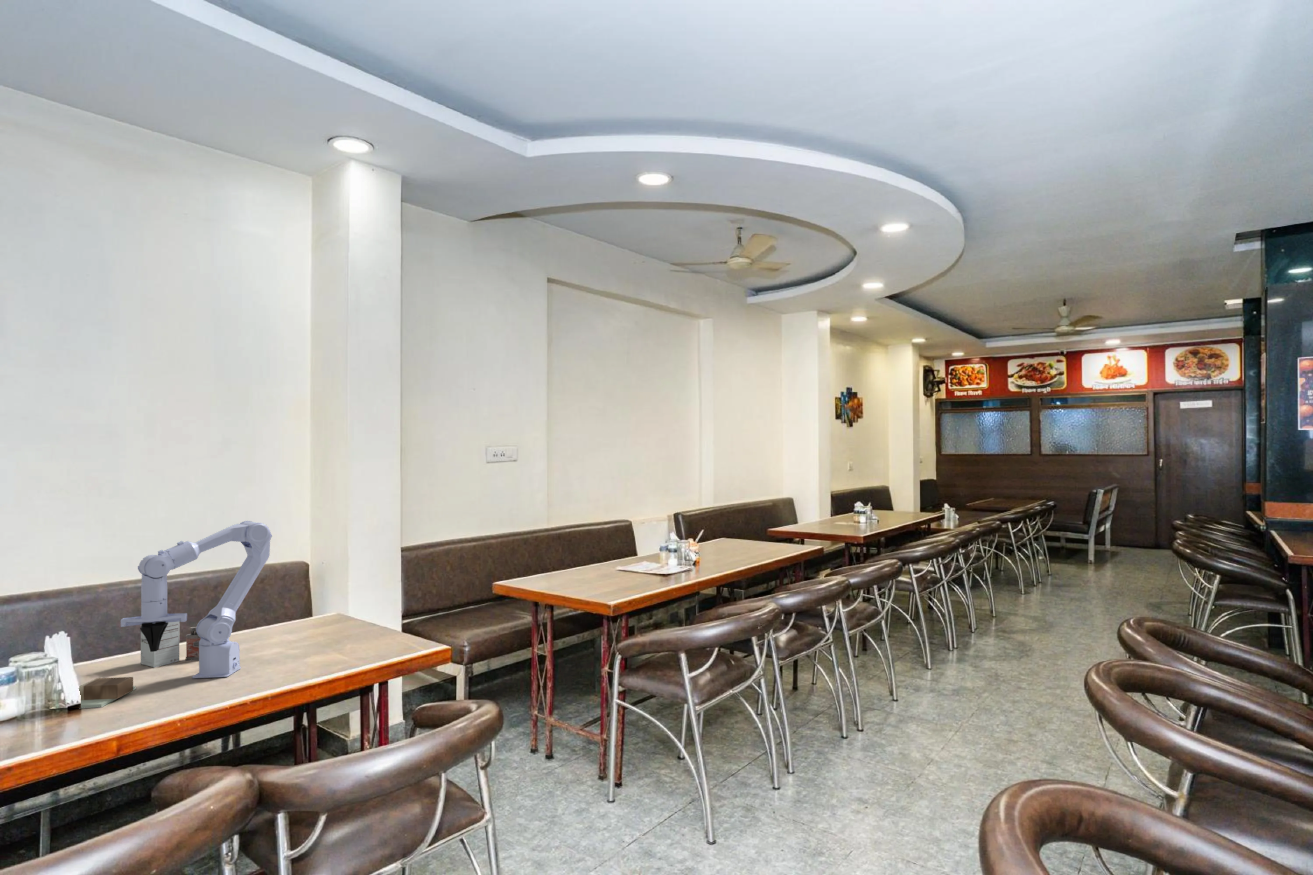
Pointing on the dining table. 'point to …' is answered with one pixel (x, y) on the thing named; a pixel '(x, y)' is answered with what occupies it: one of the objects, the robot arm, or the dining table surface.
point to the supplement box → (162, 648)
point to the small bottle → (192, 645)
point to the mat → (97, 702)
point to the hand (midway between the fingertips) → (154, 650)
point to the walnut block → (106, 688)
